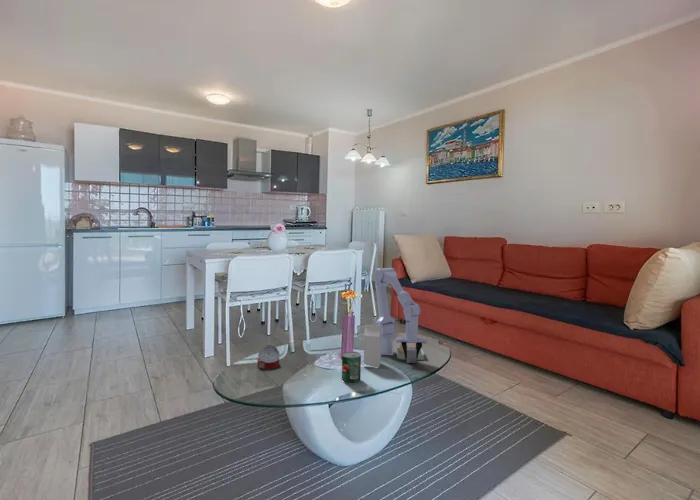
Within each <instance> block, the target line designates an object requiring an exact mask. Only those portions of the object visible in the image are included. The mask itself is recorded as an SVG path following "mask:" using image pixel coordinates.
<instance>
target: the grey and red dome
mask: <svg viewBox="0 0 700 500" xmlns="http://www.w3.org/2000/svg"><path fill="white" fill-rule="evenodd" d="M257 357H258V358H257V368H258V369H261V370H270V369H276V368H278V367H279V366H280V357H281V353H280V351H279V350H278V347H276V346H275V345H271V344H269V345H265V346H263V347H261V349H259V351H258V354H257Z"/></svg>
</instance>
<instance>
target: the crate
mask: <svg viewBox="0 0 700 500" xmlns="http://www.w3.org/2000/svg"><path fill="white" fill-rule="evenodd" d="M395 350H396V351H395V353H396V357H397V360H406V358H405V354H400V347H396V348H395ZM425 359H426V357H425V352H424V350H423V349H422V347H421V349H420V351H419V354H418V358H417V359H416V361H417V360H419V361H425Z"/></svg>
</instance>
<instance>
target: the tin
mask: <svg viewBox="0 0 700 500" xmlns="http://www.w3.org/2000/svg"><path fill="white" fill-rule="evenodd" d="M416 353H417V349H416V346H408V347H407V358H406V359H405V362H406V363H407V364H417V360H416Z"/></svg>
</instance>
